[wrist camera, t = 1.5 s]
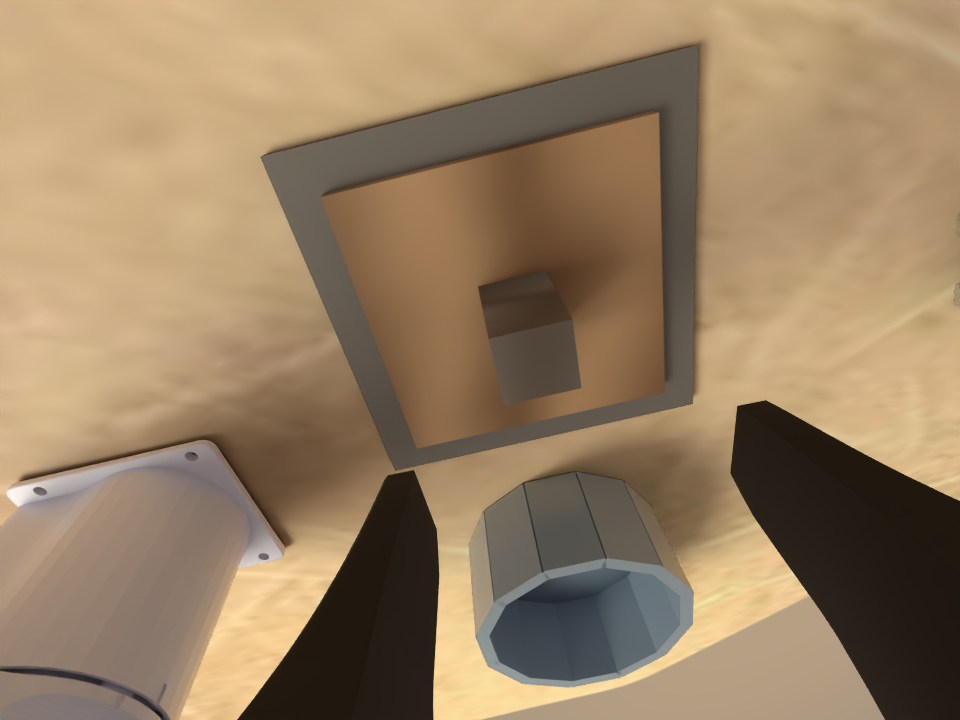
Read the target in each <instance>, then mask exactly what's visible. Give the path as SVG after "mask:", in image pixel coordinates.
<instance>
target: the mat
mask: <svg viewBox="0 0 960 720" xmlns="http://www.w3.org/2000/svg"><path fill="white" fill-rule="evenodd" d="M698 54H699V45H695V46H690V47H686V48H682V49H678V50H674V51H670V52H666V53H662V54H658V55H654V56H650V57H646V58H643V59H639V60H635V61H631V62H627V63H623V64H619V65H615V66H611V67H607V68H603V69H599V70H595V71H592V72H588V73H584V74H580V75H576V76H572V77H568V78H564V79H560V80H556V81H552V82H548V83H545V84H541V85H537V86H533V87H529V88H525V89H521V90H517V91H513V92H509V93H505V94H501V95H498V96H494V97H490V98H486V99H482V100H478V101H474V102H470V103H466V104H462V105H458V106H454V107H450V108H447V109H443V110H439V111H435V112H431V113H427V114H423V115H419V116H415V117H411V118H407V119H403V120H400V121H396V122H392V123H388V124H384V125H380V126H376V127H372V128H368V129H364V130H360V131H356V132H352V133H349V134H345V135H341V136H337V137H333V138H329V139H325V140H321V141H317V142H313V143H309V144H305V145H302V146H298V147H294V148H290V149H286V150H282V151H278V152H274V153H270V154H266V155H263V156H261V159H262V162H263V164H264V166H265V169H266V171H267V173H268V176H269V178H270V180H271V183H272V185H273V187H274V190H275V192H276V194H277V197H278V199H279V201H280V204H281V206H282V208H283V211H284V213H285V215H286V218H287V220H288V222H289V225H290V227H291V229H292V232H293V234H294V236H295V239H296V241H297V243H298V246H299V248H300V250H301V253H302V255H303V257H304V260H305V262H306V264H307V266H308V269H309V271H310V273H311V276H312V278H313V280H314V283H315V285H316V287H317V290H318V292H319V294H320V297H321V299H322V301H323V304H324V306H325V308H326V311H327V313H328V315H329V318H330V320H331V322H332V325H333V327H334V329H335V332H336V334H337V336H338V339H339V341H340V343H341V346H342V348H343V350H344V353H345V355H346V357H347V360H348V362H349V364H350V367H351V369H352V371H353V374H354V376H355V378H356V381H357V383H358V385H359V388H360V390H361V392H362V395H363V397H364V399H365V402H366V404H367V406H368V408H369V411H370V413H371V415H372V418H373V420H374V422H375V425H376V427H377V429H378V432H379V434H380V436H381V439H382V441H383V443H384V446H385V448H386V450H387V453H388V455H389V457H390V460H391V462H392V464H393V467H394V469H395V471H396V470H401V469H405V468H409V467H414V466H418V465H423V464H427V463H432V462H436V461H441V460H445V459H450V458H454V457H459V456H463V455H467V454H472V453H476V452H481V451H485V450H490V449H494V448H499V447H503V446H508V445H512V444H517V443H521V442H525V441H530V440H534V439H539V438H543V437H548V436H552V435H557V434H561V433H566V432H570V431H575V430H579V429H583V428H588V427H592V426H597V425H601V424H606V423H610V422H615V421H619V420H624V419H628V418H633V417H637V416H641V415H646V414H650V413H655V412H659V411H664V410H668V409H673V408H677V407H682V406H686V405H691V404H693V355H694V295H695V234H696V174H697V114H698ZM650 111H653V112H659V136H660V184H661V231H662V279H663V326H664V374H665V393H661V394H657V395H653V396H648V397H644V398H639V399H635V400H630V401H626V402H622V403H617V404H613V405H608V406H604V407H599V408H595V409H591V410H586V411H582V412H577V413H573V414H568V415H564V416H559V417H555V418H551V419H546V420H542V421H537V422H533V423H528V424H524V425H520V426H515V427H511V428H506V429H502V430H497V431H493V432H489V433H484V434H480V435H475V436H471V437H466V438H462V439H458V440H453V441H449V442H444V443H440V444H435V445H431V446H427V447H422V448H418V449H417V448H416V445H415V442H414V440H413V437H412V435H411V432H410V429H409V427H408V424H407V422H406V419H405V416H404V414H403V411H402V409H401V406H400V403H399V401H398V398H397V396H396V393H395V390H394V388H393V385H392V383H391V380H390V377H389V375H388V372H387V370H386V367H385V364H384V362H383V359H382V357H381V354H380V351H379V349H378V346H377V344H376V341H375V338H374V336H373V333H372V331H371V328H370V325H369V323H368V320H367V318H366V315H365V312H364V310H363V307H362V305H361V302H360V299H359V297H358V294H357V291H356V289H355V286H354V284H353V281H352V278H351V276H350V273H349V271H348V268H347V265H346V263H345V260H344V258H343V255H342V252H341V250H340V247H339V245H338V242H337V239H336V237H335V234H334V232H333V229H332V226H331V224H330V221H329V219H328V216H327V213H326V211H325V208H324V206H323V203H322V200H321V198H320V197H321V196H322V195H323V194H324V193H327V192H331V191H335V190H339V189H343V188H347V187H351V186H355V185H359V184H363V183H367V182H371V181H375V180H379V179H383V178H387V177H391V176H395V175H399V174H403V173H407V172H411V171H415V170H419V169H423V168H427V167H431V166H435V165H439V164H443V163H447V162H451V161H455V160H459V159H463V158H467V157H471V156H474V155H478V154H482V153H486V152H490V151H494V150H498V149H502V148H506V147H510V146H514V145H518V144H522V143H526V142H530V141H534V140H538V139H542V138H546V137H550V136H554V135H558V134H562V133H566V132H570V131H574V130H578V129H582V128H586V127H590V126H594V125H598V124H602V123H606V122H610V121H614V120H618V119H622V118H626V117H630V116H634V115H638V114H642V113H646V112H650Z"/></svg>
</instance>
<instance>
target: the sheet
mask: <svg viewBox="0 0 960 720" xmlns="http://www.w3.org/2000/svg"><path fill="white" fill-rule="evenodd" d="M320 198H321V200H322V203H323V206H324V208H325V211H326V213H327V216H328V219H329V221H330V224H331V226H332V229H333V232H334V234H335V237H336V239H337V242H338V245H339V247H340V250H341V252H342V255H343V258H344V260H345V263H346V265H347V268H348V271H349V273H350V276H351V278H352V281H353V284H354V286H355V289H356V291H357V294H358V297H359V299H360V302H361V305H362V307H363V310H364V312H365V315H366V318H367V320H368V323H369V325H370V328H371V331H372V333H373V336H374V338H375V341H376V344H377V346H378V349H379V351H380V354H381V357H382V359H383V362H384V364H385V367H386V370H387V372H388V375H389V377H390V380H391V383H392V385H393V388H394V390H395V393H396V396H397V398H398V401H399V403H400V406H401V409H402V411H403V414H404V416H405V419H406V422H407V424H408V427H409V429H410V432H411V435H412V437H413V440H414V442H415V445H416V448H417V449H418V448H422V447H427V446H431V445H435V444H440V443H444V442H449V441H453V440H458V439H462V438H466V437H471V436H475V435H480V434H484V433H489V432H493V431H497V430H502V429H506V428H511V427H515V426H520V425H524V424H528V423H533V422H537V421H542V420H546V419H551V418H555V417H559V416H564V415H568V414H573V413H577V412H582V411H586V410H591V409H595V408H599V407H604V406H608V405H613V404H617V403H622V402H626V401H630V400H635V399H639V398H644V397H648V396H653V395H657V394H661V393H665V374H664V326H663V279H662V231H661V184H660V136H659V112H653V111H650V112H646V113H642V114H638V115H634V116H630V117H626V118H622V119H618V120H614V121H610V122H606V123H602V124H598V125H594V126H590V127H586V128H582V129H578V130H574V131H570V132H566V133H562V134H558V135H554V136H550V137H546V138H542V139H538V140H534V141H530V142H526V143H522V144H518V145H514V146H510V147H506V148H502V149H498V150H494V151H490V152H486V153H482V154H478V155H474V156H471V157H467V158H463V159H459V160H455V161H451V162H447V163H443V164H439V165H435V166H431V167H427V168H423V169H419V170H415V171H411V172H407V173H403V174H399V175H395V176H391V177H387V178H383V179H379V180H375V181H371V182H367V183H363V184H359V185H355V186H351V187H347V188H343V189H339V190H335V191H331V192H327V193H324V194H323V195H322V196H321V197H320Z"/></svg>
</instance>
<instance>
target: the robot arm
mask: <svg viewBox="0 0 960 720" xmlns="http://www.w3.org/2000/svg"><path fill="white" fill-rule="evenodd" d="M191 452H193V453H196V454H197V455H194V454H192V453H191ZM731 475H732V477H733V479H734V481H735V483H736V485H737V487H738V489H739V491H740V493H741V494H742V496H743V498H744V500H745V502H746V504H747V505H748V507H749V509H750V511H751V513H752V514H753V516H754V517H755V519H756V520H757V522H758V523H759V525H760V526H761V528H762V529H763V530H764V532H765V533H766V535H767V536H768V538H769V539H770V540H771V542H772V543H773V545H774V546H775V548H776V549H777V550H778V552H779V553H780V555H781V556H782V557H783V559H784V560H785V562H786V563H787V564H788V566H789V567H790V569H791V570H792V571H793V573H794V574H795V576H796V577H797V578H798V580H799V581H800V583H801V584H802V586H803V587H804V588H805V590H806V591H807V593H808V594H809V595H810V597H811V598H812V600H813V601H814V602H815V604H816V605H817V607H818V608H819V609H820V611H821V612H822V614H823V615H824V617H825V618H826V620H827V621H828V623H829V624H830V626H831V627H832V629H833V630H834V632H835V633H836V635H837V637H838V638H839V640H840V642H841V643H842V645H843V647H844V649H845V650H846V652H847V654H848V655H849V657H850V659H851V661H852V662H853V664H854V666H855V667H856V669H857V671H858V673H859V674H860V676H861V678H862V679H863V681H864V683H865V684H866V686H867V688H868V689H869V692H870V693H871V695H872V697H873V699H874V701H875V702H876V704H877V706H878V708H879V710H880V711H881V713H882V715H883V717H884V718H885V720H960V501H959V500H956V499H954V498H952V497H950V496H947V495H945V494H943V493H941V492H939V491H937V490H935V489H933V488H931V487H929V486H927V485H925V484H922V483H920V482H918V481H916V480H914V479H912V478H910V477H908V476H906V475H904V474H902V473H900V472H898V471H896V470H894V469H892V468H890V467H888V466H886V465H884V464H882V463H880V462H878V461H876V460H875V459H873V458H871V457H869V456H867V455H865V454H863V453H861V452H859V451H858V450H856V449H854V448H852V447H850V446H848V445H846V444H845V443H843V442H841V441H839V440H837V439H835V438H834V437H832V436H830V435H828V434H826V433H825V432H823V431H821V430H819V429H817V428H816V427H814V426H812V425H810V424H808V423H807V422H805V421H803V420H801V419H799V418H798V417H796V416H794V415H792V414H790V413H789V412H787V411H785V410H783V409H781V408H779V407H778V406H776V405H774V404H772V403H770V402H768V401H766V400H765V401H760V402H755V403H750V404H745V405H740V406H737V415H736V424H735V434H734V444H733V454H732V463H731ZM6 492H7V496H8V497H9V499H10V500H12V501H13V502H14V503H15V504H16V505H17V506H18V507H19V508H18V509H17V510H16V511H15V512H14V513H13V514H12V515H11V516H10V517H9V518H8V519H7V520H6V521H5V522H4V523H3V524H2V525H1V526H0V720H179V717H180V715H181V712H182V710H183V707H184V705H185V702H186V700H187V697H188V695H189V692H190V689H191V687H192V684H193V682H194V679H195V677H196V674H197V672H198V669H199V667H200V664H201V661H202V659H203V656H204V654H205V651H206V649H207V646H208V644H209V641H210V638H211V636H212V633H213V631H214V628H215V626H216V623H217V621H218V618H219V616H220V613H221V610H222V608H223V605H224V603H225V600H226V598H227V595H228V593H229V590H230V587H231V585H232V582H233V580H234V577H235V575H236V572H237V570H238V568H243V567H247V566H252V565H256V564H261V563H266V562H270V561H275V560H278V559H281V558H282V557H283V555H284V552H285V547H284V545H283V544H282V542H281V541H280V539H279V538H278V536H277V535H276V534H275V532H274V531H273V529H272V528H271V526H270V525H269V523H268V522H267V520H266V519H265V517H264V516H263V514H262V513H261V511H260V510H259V508H258V507H257V505H256V504H255V502H254V501H253V499H252V498H251V496H250V495H249V493H248V492H247V490H246V489H245V487H244V486H243V485H242V483H241V482H240V480H239V479H238V477H237V476H236V474H235V473H234V471H233V470H232V468H231V467H230V465H229V464H228V462H227V461H226V459H225V458H224V456H223V455H222V453H221V452H220V450H219V449H218V447H217V446H216V445H215V444H214V443H213V442H211V441H208V440H198V441H194V442H190V443H185V444H181V445H177V446H172V447H168V448H164V449H159V450H155V451H151V452H146V453H142V454H138V455H133V456H129V457H125V458H120V459H116V460H112V461H107V462H103V463H99V464H94V465H90V466H86V467H81V468H77V469H73V470H68V471H64V472H60V473H55V474H51V475H47V476H42V477H38V478H34V479H29V480H25V481H21V482H17V483H14V484H13V485H12V486H11V487H10V488H9V489H8V490H7V491H6ZM438 589H439V559H438V543H437V529H436V527H435V524H434V521H433V519H432V516H431V513H430V511H429V508H428V506H427V503H426V500H425V498H424V495H423V492H422V490H421V487H420V485H419V482H418V479H417V477H416V474H415V472H414V470H413V471H408V472H403V473H398V474H393V475H388V476H387V477H386V479H385V480H384V482H383V484H382V486H381V489H380V491H379V493H378V495H377V497H376V499H375V502H374V504H373V506H372V508H371V510H370V512H369V514H368V516H367V518H366V520H365V522H364V524H363V526H362V528H361V530H360V532H359V534H358V536H357V538H356V540H355V542H354V544H353V546H352V547H351V549H350V551H349V553H348V555H347V557H346V559H345V561H344V563H343V564H342V566H341V568H340V570H339V571H338V573H337V575H336V577H335V578H334V580H333V582H332V583H331V585H330V587H329V588H328V590H327V592H326V594H325V595H324V597H323V599H322V600H321V602H320V604H319V605H318V607H317V609H316V610H315V612H314V613H313V615H312V617H311V618H310V620H309V621H308V623H307V624H306V626H305V627H304V629H303V630H302V632H301V634H300V635H299V636H298V638H297V639H296V641H295V642H294V644H293V645H292V647H291V648H290V650H289V651H288V653H287V654H286V655H285V657H284V658H283V660H282V661H281V662H280V664H279V665H278V667H277V668H276V669H275V671H274V672H273V673H272V675H271V676H270V677H269V679H268V680H267V681H266V683H265V684H264V685H263V687H262V688H261V690H260V691H259V692H258V694H257V695H256V696H255V698H254V699H253V700H252V701H251V703H250V704H249V705H248V707H247V708H246V709H245V710H244V712H243V713H242V714H241V715H240V717H239V718H238V719H237V720H433V680H434V662H435V644H436V627H437V609H438Z"/></svg>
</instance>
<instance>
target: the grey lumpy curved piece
mask: <svg viewBox="0 0 960 720" xmlns="http://www.w3.org/2000/svg"><path fill="white" fill-rule="evenodd" d="M957 236H960V214H959V215H958V218H957ZM954 302H955V305H958V306H960V283H958V284H957V285H956V287H955V298H954Z"/></svg>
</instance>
